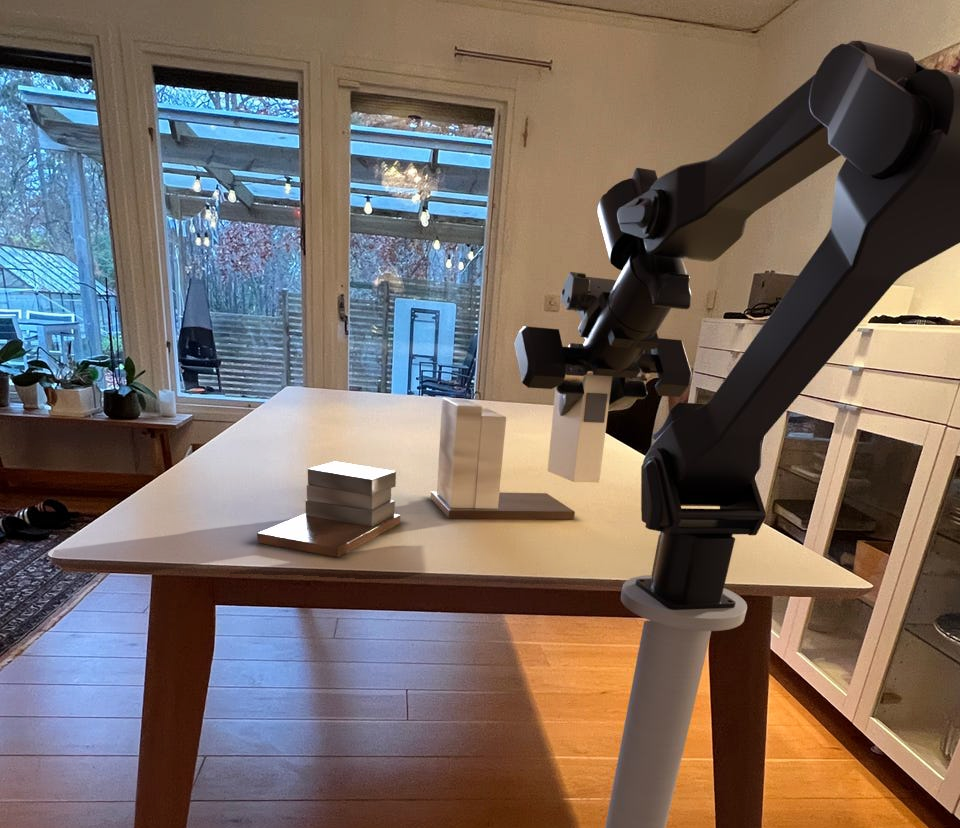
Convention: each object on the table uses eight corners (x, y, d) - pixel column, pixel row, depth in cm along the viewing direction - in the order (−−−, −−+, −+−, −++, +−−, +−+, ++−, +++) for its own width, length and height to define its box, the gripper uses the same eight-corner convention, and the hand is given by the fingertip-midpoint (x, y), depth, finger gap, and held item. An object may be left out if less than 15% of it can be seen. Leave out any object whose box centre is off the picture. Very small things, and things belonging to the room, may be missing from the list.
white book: (600, 482, 81) (614, 369, 77) (574, 482, 80) (586, 367, 76) (571, 471, 88) (582, 367, 84) (547, 471, 87) (557, 365, 83)
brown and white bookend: (574, 519, 91) (588, 413, 86) (448, 518, 87) (455, 406, 81) (545, 500, 100) (557, 403, 95) (430, 498, 95) (436, 396, 90)
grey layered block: (400, 523, 83) (402, 470, 80) (338, 557, 70) (338, 495, 67) (330, 511, 85) (330, 459, 83) (257, 542, 72) (254, 481, 69)
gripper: (699, 256, 74) (632, 362, 88) (530, 234, 69) (487, 351, 83) (727, 342, 70) (652, 438, 84) (550, 326, 65) (502, 432, 79)
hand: (575, 413), depth 83 cm, fingers closed on white book, 3 cm apart
